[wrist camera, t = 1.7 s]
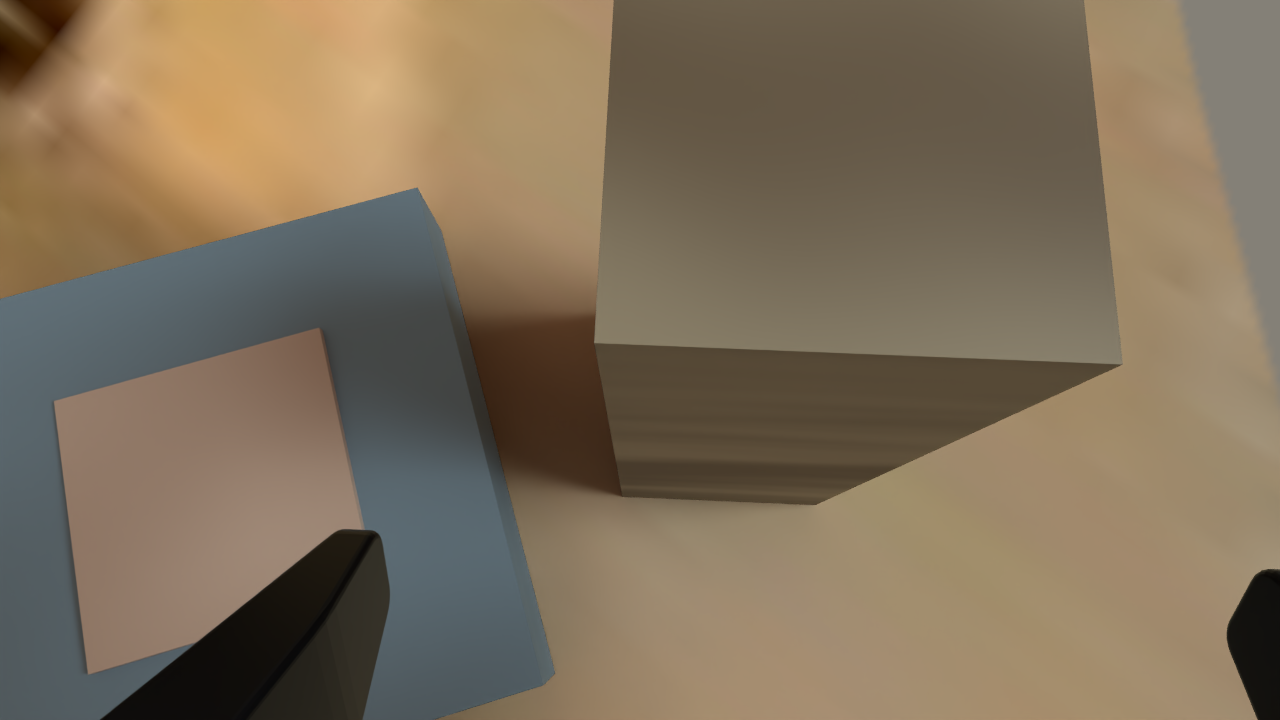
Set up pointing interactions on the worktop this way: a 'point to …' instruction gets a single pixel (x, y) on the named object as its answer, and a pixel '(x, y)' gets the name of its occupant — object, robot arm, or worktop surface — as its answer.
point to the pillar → (842, 236)
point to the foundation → (254, 463)
